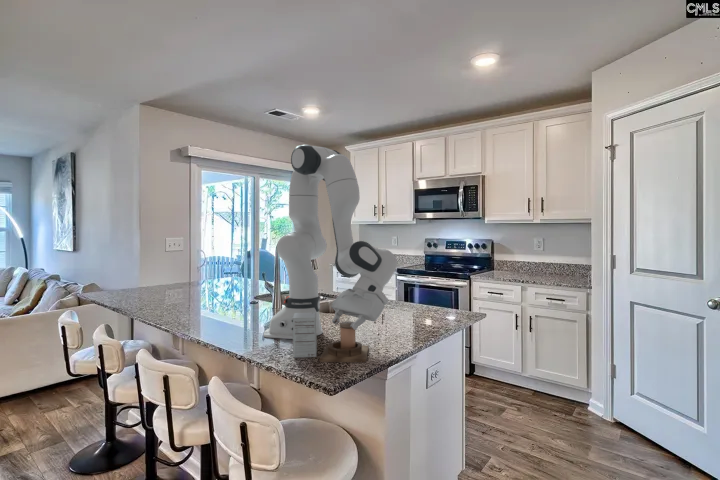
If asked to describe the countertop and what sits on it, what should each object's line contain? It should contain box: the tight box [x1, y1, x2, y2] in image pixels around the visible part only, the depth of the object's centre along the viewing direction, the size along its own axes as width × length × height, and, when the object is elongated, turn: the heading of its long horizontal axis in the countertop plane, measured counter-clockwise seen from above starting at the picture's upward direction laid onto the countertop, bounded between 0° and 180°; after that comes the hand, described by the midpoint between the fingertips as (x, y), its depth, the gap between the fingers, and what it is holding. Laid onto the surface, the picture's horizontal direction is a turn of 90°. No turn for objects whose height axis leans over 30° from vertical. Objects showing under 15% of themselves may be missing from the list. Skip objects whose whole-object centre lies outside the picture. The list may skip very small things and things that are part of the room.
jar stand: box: [318, 340, 370, 364], centre depth 124 cm, size 14×14×3 cm
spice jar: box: [339, 321, 357, 349], centre depth 124 cm, size 5×5×9 cm
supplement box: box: [292, 313, 318, 359], centre depth 125 cm, size 7×7×13 cm
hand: (343, 325), depth 123 cm, fingers open, 8 cm apart
